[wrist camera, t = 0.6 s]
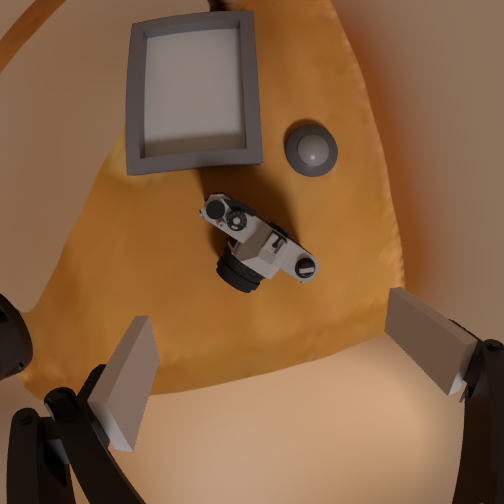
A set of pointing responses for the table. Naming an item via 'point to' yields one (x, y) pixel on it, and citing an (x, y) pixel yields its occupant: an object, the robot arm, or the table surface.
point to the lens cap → (311, 150)
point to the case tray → (192, 93)
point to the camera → (254, 246)
